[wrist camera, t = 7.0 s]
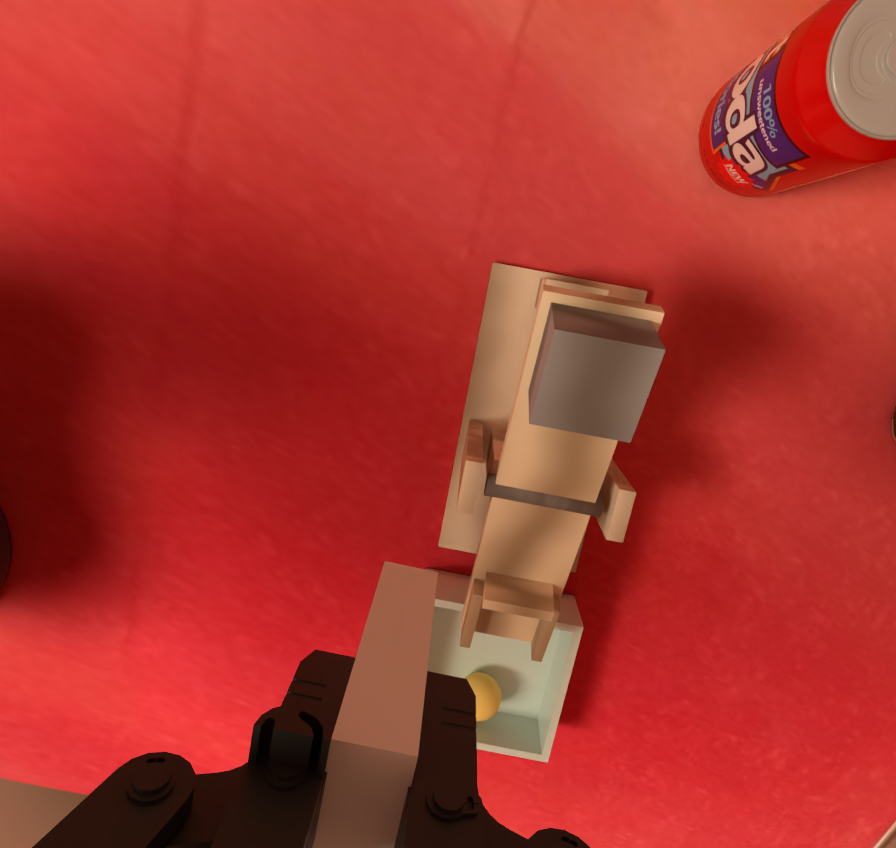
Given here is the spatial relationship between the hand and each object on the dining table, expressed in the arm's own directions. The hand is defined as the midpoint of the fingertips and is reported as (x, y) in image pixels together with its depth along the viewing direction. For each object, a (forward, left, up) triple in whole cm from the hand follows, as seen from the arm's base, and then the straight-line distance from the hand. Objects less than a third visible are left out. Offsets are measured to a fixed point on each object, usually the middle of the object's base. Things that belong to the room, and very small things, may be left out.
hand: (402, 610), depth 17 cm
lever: (+7, -3, -20) cm, 21 cm away
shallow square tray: (+7, -20, -30) cm, 36 cm away
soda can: (+17, +21, -30) cm, 40 cm away
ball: (+7, -23, -27) cm, 36 cm away
